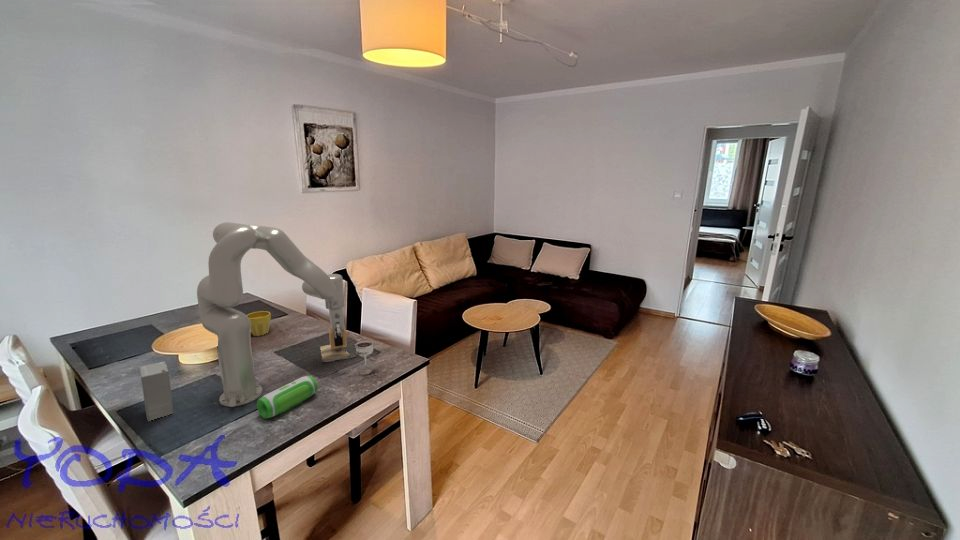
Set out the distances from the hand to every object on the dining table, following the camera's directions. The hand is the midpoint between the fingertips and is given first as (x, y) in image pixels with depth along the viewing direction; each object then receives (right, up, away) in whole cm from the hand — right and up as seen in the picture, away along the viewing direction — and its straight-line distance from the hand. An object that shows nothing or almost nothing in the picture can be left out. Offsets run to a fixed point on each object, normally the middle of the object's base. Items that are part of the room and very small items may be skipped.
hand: (338, 342), depth 161 cm
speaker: (-2, -15, -36) cm, 39 cm away
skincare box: (-41, -15, -41) cm, 60 cm away
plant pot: (-45, 0, +19) cm, 49 cm away
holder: (0, -5, +1) cm, 5 cm away
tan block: (0, -1, 0) cm, 1 cm away
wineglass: (+16, -9, -14) cm, 23 cm away
